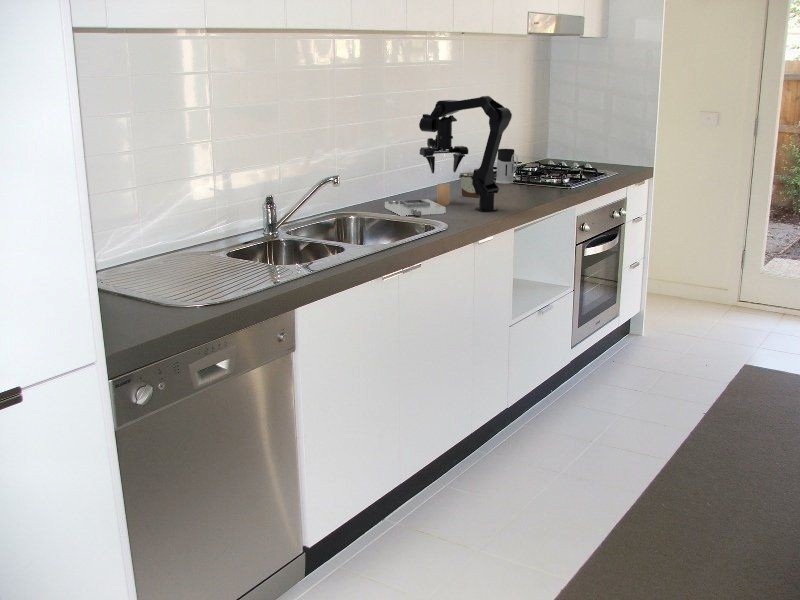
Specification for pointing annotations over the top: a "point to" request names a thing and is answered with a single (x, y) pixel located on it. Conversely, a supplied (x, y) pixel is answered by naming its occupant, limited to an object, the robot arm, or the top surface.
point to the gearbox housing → (414, 207)
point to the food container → (467, 186)
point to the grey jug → (506, 166)
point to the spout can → (443, 193)
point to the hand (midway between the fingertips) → (443, 172)
